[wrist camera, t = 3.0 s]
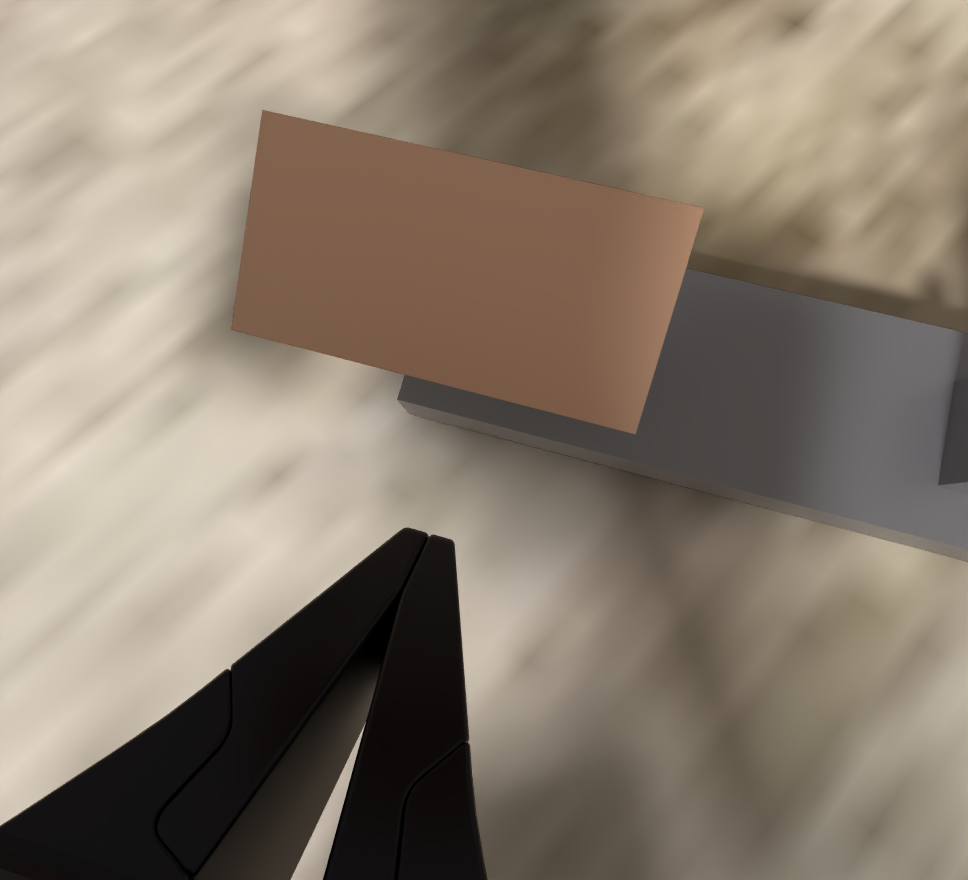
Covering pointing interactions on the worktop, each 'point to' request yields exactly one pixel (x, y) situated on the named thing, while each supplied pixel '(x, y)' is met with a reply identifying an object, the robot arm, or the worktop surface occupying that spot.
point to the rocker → (461, 269)
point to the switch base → (779, 413)
